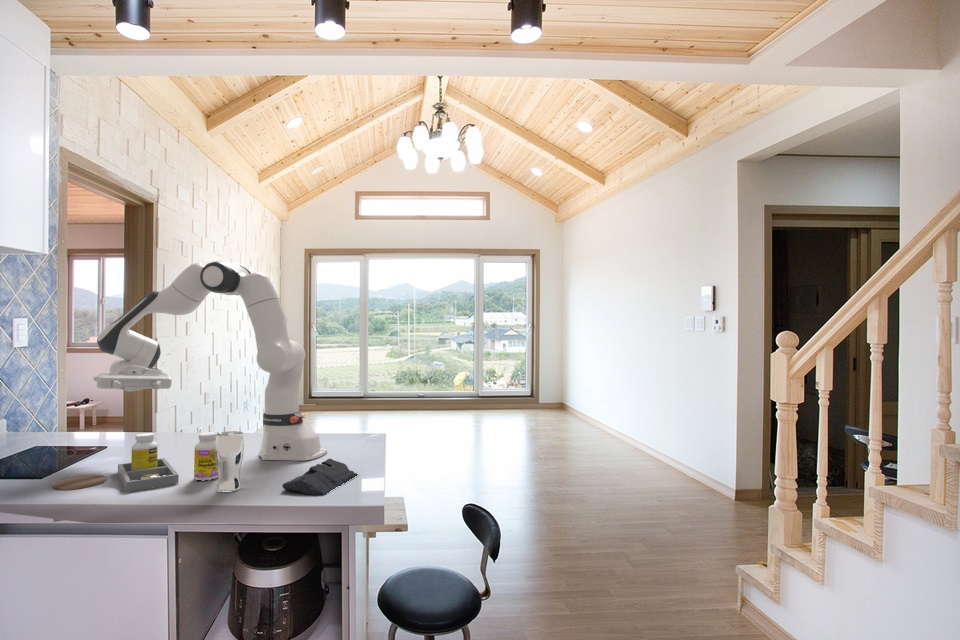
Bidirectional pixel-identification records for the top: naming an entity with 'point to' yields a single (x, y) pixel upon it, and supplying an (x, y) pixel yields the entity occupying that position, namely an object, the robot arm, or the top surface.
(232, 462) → the shiny silver flared piece
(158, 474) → the gold dome knob
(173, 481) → the parts tray
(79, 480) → the walnut coaster
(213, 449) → the supplement bottle
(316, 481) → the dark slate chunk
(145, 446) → the pill bottle
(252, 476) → the top surface
